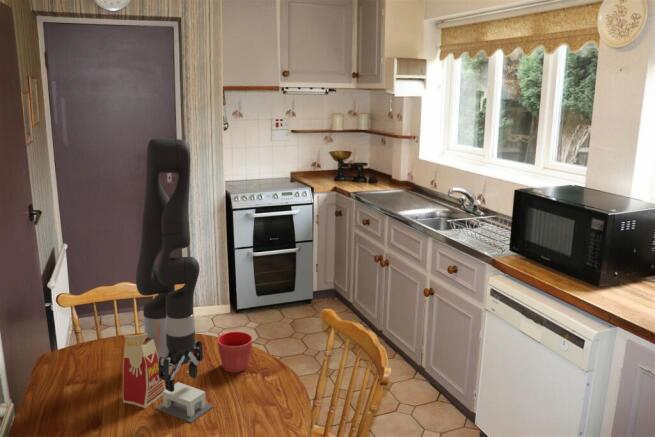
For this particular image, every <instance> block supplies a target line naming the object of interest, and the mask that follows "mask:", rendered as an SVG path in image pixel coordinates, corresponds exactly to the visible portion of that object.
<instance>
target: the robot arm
mask: <svg viewBox="0 0 655 437" xmlns="http://www.w3.org/2000/svg"><path fill="white" fill-rule="evenodd" d="M145 160H146V162H145V163H146V164H145V166H146V168H145V169H146V171H145V172H146V173H145V175H146V176H145V179H146V180H145V195H144V196H145V197H144V205H143V212H142V222H141V224H142V225H141V243H140V250H139V256H138V260H137V261H138V262H137V266H136V274H135V284H136V285H135V286H136V291H137V292H138V293H139V294H140V295H141V296H143V297H145V296H153V295H155V297H154V298H153V299H151V300H149V301H147V302H146V303H145V304H144V306H143V310H142V312H143V326H144V328H143V329H144V334H146V333H148V335H147V338H153V340H154V343H155V347H156V351H157V354H158V358H159V378H160V379H163V380H164V384H165V389H167V390H168V391H170V392H173V391H174V384H175V376H176V373H177V372H179V371H180V368H181V367H182V366H184V365H185V364H188V363H189V364H188V376H189V377H190V378H192V379H196V378H197V377H198V376H197V375H198V365H199V363H200V362H201V361H203V359H204V354H203V342H202V341H200V340H197V339H196V327H195V324H196V323H195V322H196V320H195V314H194V296H195V289H196V286H197V282H198V278H199V276H200V268H201V267H200V263H199V261H198V260H197V259H196V258H195V257H193V256H181V257H179V256H178V257H171V256H172V254H173V253H174V252H177V251H178V250H183V249H187V248H188V247H189V246H190V244H191V236H190V222H189V203H190V202H189V201H190V200H189V198H190V183H191V182H190V181H191V149H190V145H189V143H188V142H187V141H186V140H185V139H176V138H151V139H150V140H149V142H148V144H147V148H146V159H145ZM160 174H177V183H176V186H175V189H174V190H173V193H172V194H171V196H170V197H169V196H168V194H167V193H166V191H165V189H164V187H163V186H162V183H161V181H160ZM158 256H160V258H159V262H158V263H155V262H156V260H157V258H158ZM178 285H183V286H182V287H180V288H178V289H176V288H175V287H176V286H178Z"/></svg>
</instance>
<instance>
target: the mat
mask: <svg viewBox="0 0 655 437" xmlns="http://www.w3.org/2000/svg"><path fill="white" fill-rule="evenodd" d="M205 403H206V407H205V408H203V409H200V408H198V402H197V403H196V404H194V410H195V415H193V416H192V417H190V416H187V406H186V405H183V404H181V403H178V402H175V401H173V400H171V406H169V407H168V408H166V407H164V404H163V402H161V404H158V405H157V406H156V407H154V408H155V409H156V410H157V411H160V412H162V413H164V414H167V415H170V416H172V417H175V418H177V419H180V420H181V421H184V422H187V423H190V424H192V423H193V422H196V420H198V419H199V418H200V417H202V416H203V415H205V414H206V413H208V412H209V411H210V410H212V409H213V408H214V407H215V406H214V405H212V404H210V403H208V402H205Z"/></svg>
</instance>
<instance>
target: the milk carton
mask: <svg viewBox="0 0 655 437" xmlns="http://www.w3.org/2000/svg"><path fill="white" fill-rule="evenodd" d="M147 335H148V333H146V334H145V333H142V334H137V335H124V337H125V338H126V340H125V345H124V352H123V366H122V368H123V369H122V371H123V372H122V403H123V404H128V405H129V404H130V405H134V406H138V407H141V408H144V409H146V408H148V407H149V406H150V405H152V404H153V403H154V402H156V401H157V400H158V399H160V397H163V391H164V390H166V384H165V380H163V379H160V378H159V358H158V354H157V351H156V347H155V343H154V340H153V338H147Z"/></svg>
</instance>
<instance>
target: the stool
mask: <svg viewBox="0 0 655 437" xmlns="http://www.w3.org/2000/svg"><path fill="white" fill-rule="evenodd" d="M165 389H166V388H165ZM206 397H207V396H206V391H204V390H202V389H199V388H197V387H193V386H190V385H188V384H185V383H182V382H180V381H178V382H176V383H174V391H173V392H170V391H168V390H167V389H166V390H164V391H163V395H162V400H163V402H162V403H163V404H164V407H166V408H168V407H169V406H171V400H173V401H175V402H178V403H181V404H183V405H186V406H187V416H190V417H192V416H193V415H195V410H194V404H196V403H197V402H198V408H200V409H203V408H205V407H206V403H207V402H206Z"/></svg>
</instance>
